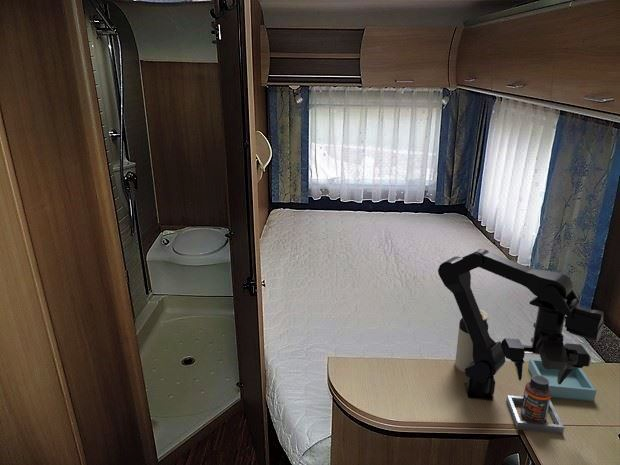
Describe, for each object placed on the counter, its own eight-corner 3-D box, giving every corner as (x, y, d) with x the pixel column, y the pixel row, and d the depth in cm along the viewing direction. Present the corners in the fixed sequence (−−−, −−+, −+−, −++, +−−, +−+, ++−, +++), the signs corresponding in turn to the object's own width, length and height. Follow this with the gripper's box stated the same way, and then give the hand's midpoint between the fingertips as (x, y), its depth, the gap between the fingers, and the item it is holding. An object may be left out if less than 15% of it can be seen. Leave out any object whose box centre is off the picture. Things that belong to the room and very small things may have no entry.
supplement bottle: (520, 421, 113) (526, 382, 109) (520, 406, 118) (526, 369, 114) (546, 428, 110) (553, 389, 107) (545, 413, 115) (552, 375, 112)
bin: (541, 397, 121) (543, 385, 120) (527, 370, 133) (529, 358, 132) (593, 403, 119) (596, 390, 118) (574, 374, 131) (577, 362, 130)
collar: (516, 429, 110) (517, 422, 109) (506, 401, 120) (507, 395, 119) (563, 434, 108) (564, 427, 107) (548, 405, 118) (549, 399, 117)
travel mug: (464, 377, 130) (471, 321, 125) (449, 362, 138) (455, 309, 132) (488, 372, 132) (495, 318, 127) (472, 358, 140) (478, 306, 134)
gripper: (516, 339, 100) (507, 398, 105) (607, 347, 97) (593, 407, 102) (504, 316, 111) (496, 370, 115) (586, 322, 108) (574, 378, 112)
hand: (539, 381), depth 111 cm, fingers open, 9 cm apart
